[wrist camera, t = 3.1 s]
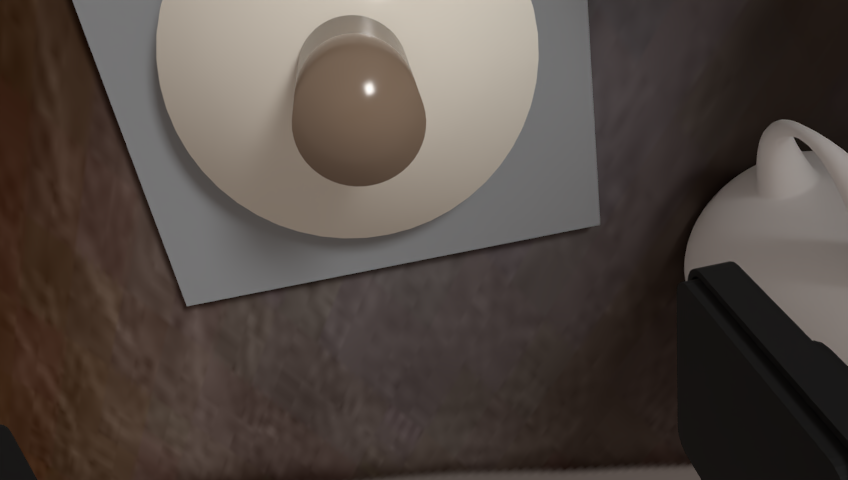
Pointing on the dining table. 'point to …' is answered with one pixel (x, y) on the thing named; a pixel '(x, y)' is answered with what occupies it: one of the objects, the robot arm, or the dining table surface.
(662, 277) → the dining table surface
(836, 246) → the mug
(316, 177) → the lid
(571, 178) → the mat
